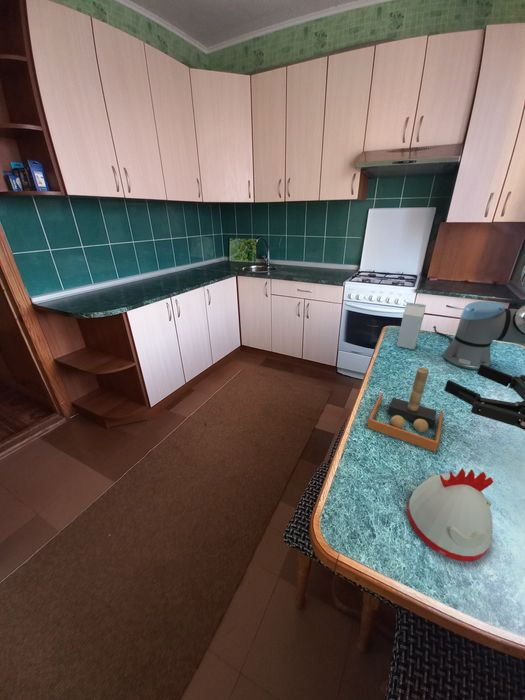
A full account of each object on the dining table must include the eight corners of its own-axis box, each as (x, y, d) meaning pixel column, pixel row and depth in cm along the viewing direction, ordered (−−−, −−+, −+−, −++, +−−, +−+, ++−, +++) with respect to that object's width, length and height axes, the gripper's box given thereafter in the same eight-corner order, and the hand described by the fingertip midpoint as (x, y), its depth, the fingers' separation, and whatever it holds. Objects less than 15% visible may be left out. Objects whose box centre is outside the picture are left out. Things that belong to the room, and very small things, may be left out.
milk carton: (414, 350, 123) (424, 307, 114) (396, 346, 127) (405, 304, 118) (416, 343, 128) (427, 302, 120) (399, 340, 132) (408, 300, 123)
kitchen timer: (503, 568, 51) (539, 514, 44) (418, 554, 53) (440, 500, 46) (467, 496, 63) (491, 445, 56) (400, 487, 65) (415, 437, 58)
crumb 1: (393, 411, 83) (391, 415, 80) (407, 416, 82) (405, 420, 79) (390, 423, 84) (388, 427, 81) (403, 427, 83) (402, 432, 80)
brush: (391, 405, 91) (401, 360, 84) (434, 418, 85) (449, 372, 78) (387, 414, 87) (397, 368, 80) (432, 428, 81) (447, 380, 74)
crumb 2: (415, 417, 83) (416, 416, 80) (429, 422, 81) (430, 421, 78) (411, 429, 82) (411, 428, 79) (425, 434, 80) (426, 434, 77)
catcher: (379, 400, 93) (381, 392, 92) (440, 418, 85) (443, 410, 83) (367, 427, 82) (368, 419, 81) (435, 452, 74) (438, 443, 72)
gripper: (542, 473, 50) (427, 406, 66) (597, 422, 60) (486, 375, 77) (562, 441, 46) (435, 378, 63) (617, 393, 57) (496, 350, 73)
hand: (463, 376), depth 70 cm, fingers open, 13 cm apart
